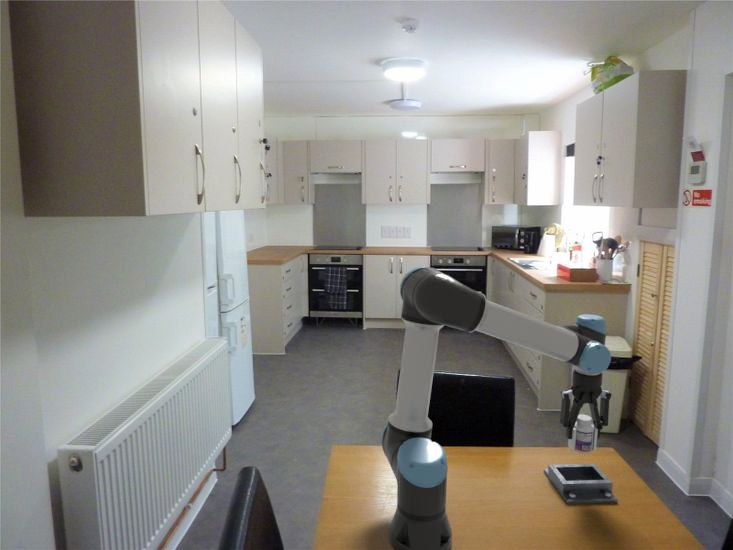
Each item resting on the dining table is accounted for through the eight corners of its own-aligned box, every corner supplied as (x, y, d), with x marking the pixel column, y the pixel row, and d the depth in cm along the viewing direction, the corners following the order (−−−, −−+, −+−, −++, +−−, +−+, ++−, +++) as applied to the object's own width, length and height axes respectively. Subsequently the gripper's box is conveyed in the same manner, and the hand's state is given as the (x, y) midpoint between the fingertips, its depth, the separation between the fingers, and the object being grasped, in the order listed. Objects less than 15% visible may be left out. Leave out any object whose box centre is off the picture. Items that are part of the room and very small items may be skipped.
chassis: (617, 502, 136) (618, 489, 136) (567, 503, 136) (568, 490, 135) (588, 470, 152) (589, 458, 152) (543, 471, 152) (544, 459, 151)
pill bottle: (575, 442, 146) (577, 411, 144) (594, 448, 143) (597, 416, 141) (568, 450, 142) (571, 417, 140) (588, 456, 138) (591, 423, 137)
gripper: (612, 365, 143) (606, 441, 146) (549, 366, 142) (544, 443, 145) (627, 374, 135) (620, 454, 139) (560, 376, 134) (555, 456, 138)
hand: (581, 448), depth 142 cm, fingers closed on pill bottle, 5 cm apart
